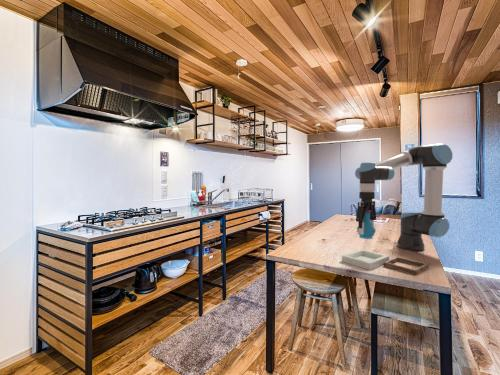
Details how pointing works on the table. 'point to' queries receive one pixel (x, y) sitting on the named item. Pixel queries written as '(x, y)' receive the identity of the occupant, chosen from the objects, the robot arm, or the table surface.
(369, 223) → the teal vase
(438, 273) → the table surface
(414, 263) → the frame
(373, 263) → the tray
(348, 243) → the table surface
